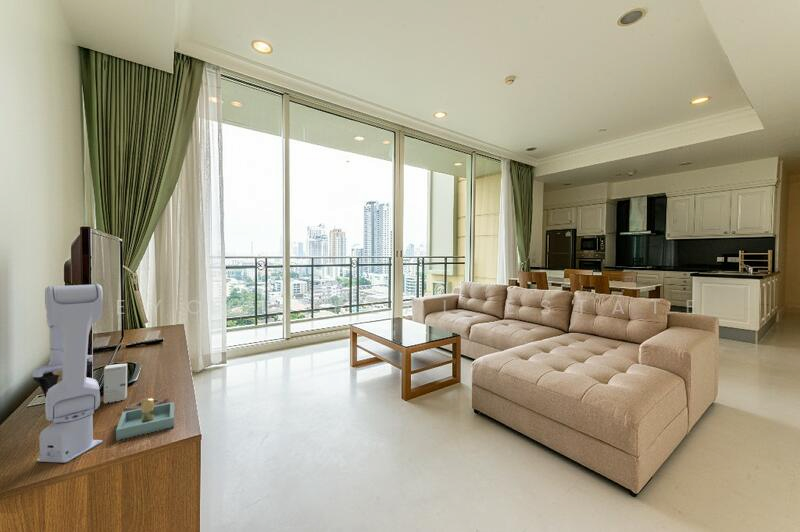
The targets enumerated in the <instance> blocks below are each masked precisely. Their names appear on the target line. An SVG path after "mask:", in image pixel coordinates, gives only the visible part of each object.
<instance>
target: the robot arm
mask: <svg viewBox="0 0 800 532" xmlns="http://www.w3.org/2000/svg"><path fill="white" fill-rule="evenodd" d="M44 305H45V306H44V307H45V311H46V324H47V327H48V330H49V360H50V361H49V362H48V364H46V365H43V366H41V367H38V368H35V369H32V374H31V375H32V378H33V381H35V382H36V383H37V385H38V386H39V387H40V388H41V391H42V392H43V395H44V403H45V404H44V407H45V410H44V411H45V412H44V413H45V419H46V420H47V421H49V422H51V421H52V422H51V424H49V425H48V426H47V427H45V428H43V429H42V430H41V432H40V434H39V438H38V439H39V440H38V441H39V444H38V445H39V457H38V458H37V459H36V461H37V462H41V463H42V462H43V463H44V462H47V463H63V464H64V463H68V462H70V461H72V460H74V458H76V457H77V458H78V457H79V456H80V455H82V454H84V453H86V452H88V451H89V450H91V449H93V448H95V447H96V446H98V445H100V444H101V443H103V440H102V439H94V431H93V429H94V425H93V424H94V423H93V422H94V421H93V419H94V417H93V414H95V410H97V409H99V407H100V405H101V393H100V385H99V382H98V381H97V379H95V378H92V377H87V376H88V373H89V372H90V371H91V369H92V367H93V355H92V354H88V352H89V350H88V349H89V335H90V331H91V329H92V325H93V324H94V323H96V322H98V321H100V320H101V317H102V315H103V306H104V291H103V287H102V285H101V284H99V283H94V284H77V285H75V284H74V285H72V284H71V285H56V286H55V285H53V286H52V285H48V286H47V287H45V289H44ZM59 371H61V380H60V381H59V382H58V380H59V378H60V374H55V372H59Z"/></svg>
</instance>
